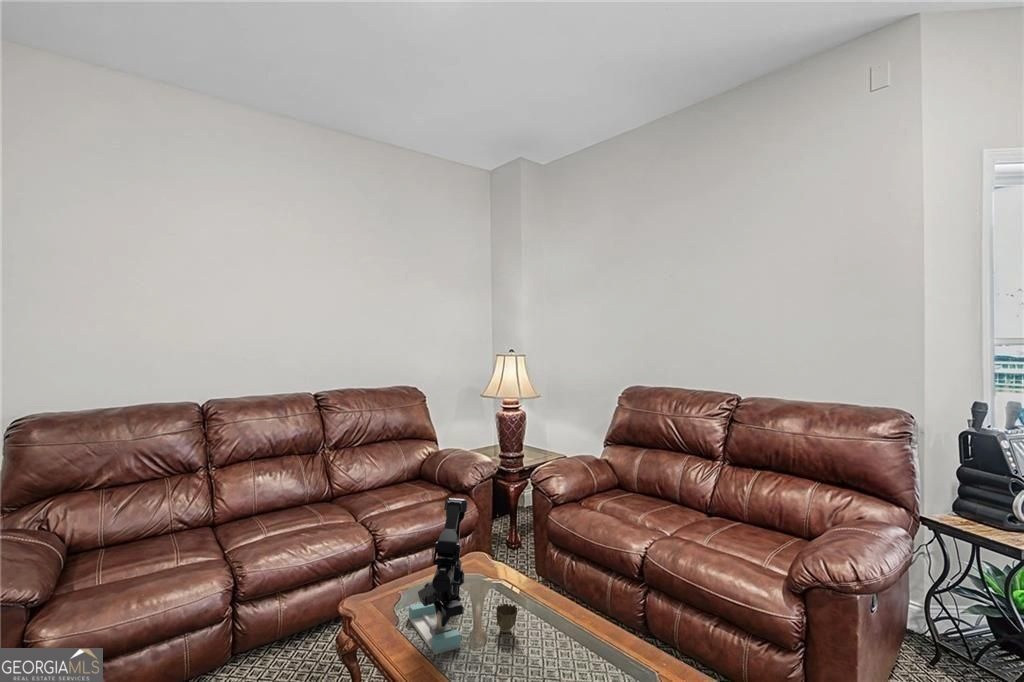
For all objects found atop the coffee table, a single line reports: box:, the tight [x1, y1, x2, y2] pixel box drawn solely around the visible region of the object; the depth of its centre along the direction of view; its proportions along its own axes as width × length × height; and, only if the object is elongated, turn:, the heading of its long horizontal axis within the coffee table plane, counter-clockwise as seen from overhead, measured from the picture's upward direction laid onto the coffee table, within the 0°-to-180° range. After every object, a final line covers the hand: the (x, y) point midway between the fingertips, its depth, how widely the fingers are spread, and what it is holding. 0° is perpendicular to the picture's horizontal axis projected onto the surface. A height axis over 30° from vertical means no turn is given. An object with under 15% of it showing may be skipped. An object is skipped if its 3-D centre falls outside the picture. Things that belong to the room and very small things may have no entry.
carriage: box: [429, 611, 453, 636], centre depth 174 cm, size 6×4×8 cm
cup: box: [495, 603, 518, 634], centre depth 183 cm, size 8×7×8 cm
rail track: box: [407, 602, 462, 656], centre depth 179 cm, size 9×23×4 cm, turn 32°
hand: (441, 623), depth 174 cm, fingers closed on carriage, 3 cm apart
